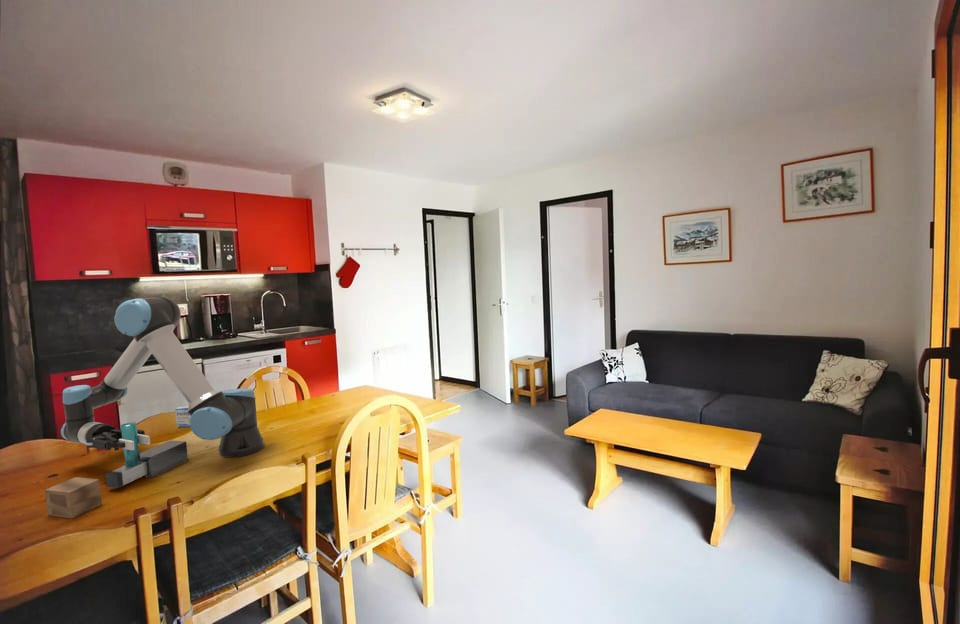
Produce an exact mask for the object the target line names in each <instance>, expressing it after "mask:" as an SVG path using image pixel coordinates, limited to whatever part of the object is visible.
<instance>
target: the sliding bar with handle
mask: <svg viewBox="0 0 960 624" xmlns="http://www.w3.org/2000/svg"><path fill="white" fill-rule="evenodd" d="M137 429H138V426H137V422H133V421H132V422H127V423H122V424H121V425H120V430H121V432H122V439H125V440H130V441H134V447H135V450H128V449H123V456H124V465H123V466H120V467H118V468H116V469H114V470H110V471H108V472H106V473H105V479H106V487H107V488H114V489H119V488H121V487H124V486H125V485H127V484H129V483H131V482H133V481H135V480H138V479H139V478H143V477H142V476H144V475H146V474H148V473H149V466H148V460H140V453H141V452H140V443H139V442H138V433H137Z"/></svg>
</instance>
